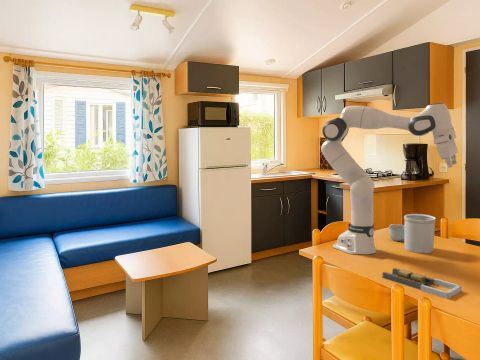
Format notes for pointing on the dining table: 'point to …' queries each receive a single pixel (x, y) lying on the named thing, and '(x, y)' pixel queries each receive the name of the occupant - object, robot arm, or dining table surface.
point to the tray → (448, 294)
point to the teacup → (397, 232)
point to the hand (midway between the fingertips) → (452, 165)
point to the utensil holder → (419, 233)
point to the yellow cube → (419, 278)
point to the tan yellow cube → (405, 274)
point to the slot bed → (406, 281)
